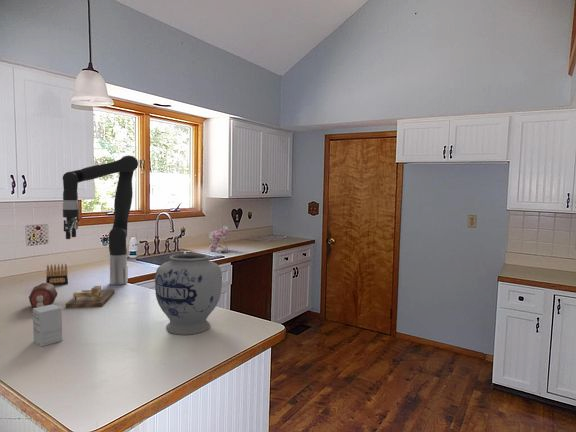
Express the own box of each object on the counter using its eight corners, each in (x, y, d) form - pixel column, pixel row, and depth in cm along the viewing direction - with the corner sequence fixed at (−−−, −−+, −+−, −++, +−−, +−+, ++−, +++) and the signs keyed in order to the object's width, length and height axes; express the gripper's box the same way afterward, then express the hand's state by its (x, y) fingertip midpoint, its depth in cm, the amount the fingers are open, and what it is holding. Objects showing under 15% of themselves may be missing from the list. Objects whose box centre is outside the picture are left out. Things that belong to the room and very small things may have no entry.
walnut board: (114, 293, 210) (114, 289, 210) (102, 306, 186) (102, 302, 186) (82, 294, 207) (82, 290, 207) (65, 307, 183) (65, 303, 183)
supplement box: (54, 336, 150) (54, 303, 149) (62, 341, 145) (62, 307, 144) (32, 341, 144) (32, 307, 143) (40, 347, 139) (39, 312, 139)
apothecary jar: (154, 319, 171) (154, 251, 168) (215, 314, 180) (216, 249, 178) (156, 342, 146) (156, 263, 143) (227, 335, 155) (228, 260, 153)
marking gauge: (102, 297, 194) (102, 285, 194) (99, 300, 189) (99, 288, 189) (75, 298, 192) (75, 286, 191) (72, 301, 187) (72, 288, 187)
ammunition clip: (46, 285, 222) (45, 264, 221) (46, 284, 223) (46, 264, 222) (67, 284, 226) (67, 263, 225) (68, 283, 228) (67, 263, 227)
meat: (54, 311, 178) (54, 289, 177) (24, 314, 174) (23, 292, 173) (60, 299, 196) (59, 279, 195) (33, 301, 192) (32, 281, 191)
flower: (228, 247, 366) (217, 223, 360) (240, 248, 347) (228, 223, 341) (210, 258, 355) (198, 234, 349) (221, 259, 337) (209, 234, 331)
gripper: (73, 209, 207) (74, 239, 209) (82, 207, 221) (82, 236, 223) (58, 209, 206) (58, 239, 207) (67, 207, 220) (68, 236, 221)
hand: (71, 238), depth 215 cm, fingers open, 8 cm apart
